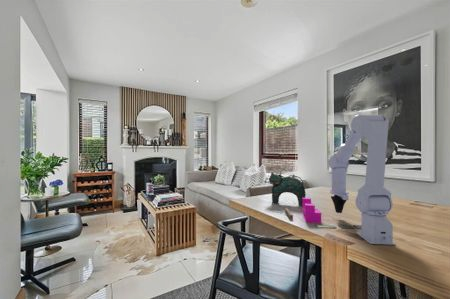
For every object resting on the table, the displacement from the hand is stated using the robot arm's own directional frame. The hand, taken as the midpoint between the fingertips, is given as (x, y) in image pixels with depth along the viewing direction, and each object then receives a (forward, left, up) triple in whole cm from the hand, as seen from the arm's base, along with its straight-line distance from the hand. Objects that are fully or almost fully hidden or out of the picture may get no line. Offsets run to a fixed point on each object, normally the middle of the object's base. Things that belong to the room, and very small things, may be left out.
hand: (338, 212), depth 100 cm
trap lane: (-2, +8, -3) cm, 9 cm away
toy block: (+1, +12, -3) cm, 12 cm away
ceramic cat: (+25, +18, -3) cm, 31 cm away
